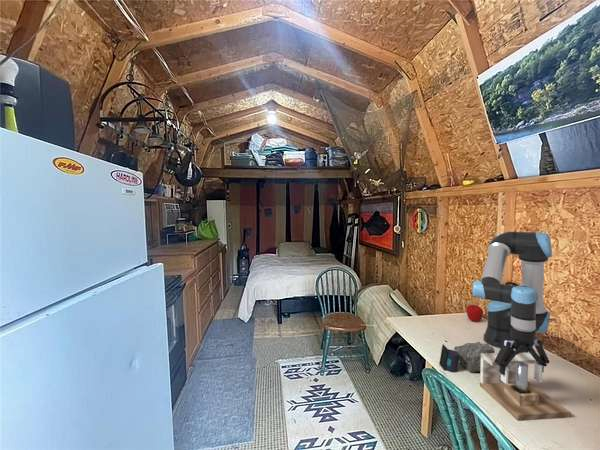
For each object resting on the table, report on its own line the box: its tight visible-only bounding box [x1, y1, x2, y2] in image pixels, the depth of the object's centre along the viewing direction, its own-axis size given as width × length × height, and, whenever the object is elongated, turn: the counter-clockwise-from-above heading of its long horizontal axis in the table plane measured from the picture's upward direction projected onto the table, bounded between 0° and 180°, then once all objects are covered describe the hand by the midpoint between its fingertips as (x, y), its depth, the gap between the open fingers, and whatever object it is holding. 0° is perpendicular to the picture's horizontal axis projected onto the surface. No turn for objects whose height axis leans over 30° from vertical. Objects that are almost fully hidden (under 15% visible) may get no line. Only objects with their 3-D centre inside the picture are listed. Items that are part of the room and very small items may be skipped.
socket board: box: [479, 352, 571, 422], centre depth 113 cm, size 20×20×14 cm
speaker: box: [439, 344, 460, 373], centre depth 135 cm, size 8×6×10 cm
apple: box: [465, 304, 484, 322], centre depth 190 cm, size 10×10×11 cm
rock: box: [453, 341, 496, 373], centre depth 137 cm, size 18×13×15 cm
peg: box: [514, 362, 529, 394], centre depth 110 cm, size 4×4×14 cm
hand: (521, 381), depth 110 cm, fingers open, 13 cm apart
